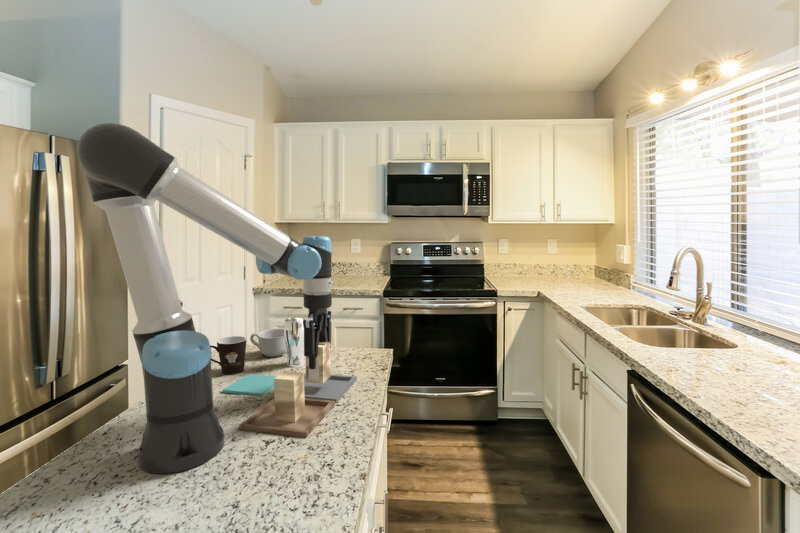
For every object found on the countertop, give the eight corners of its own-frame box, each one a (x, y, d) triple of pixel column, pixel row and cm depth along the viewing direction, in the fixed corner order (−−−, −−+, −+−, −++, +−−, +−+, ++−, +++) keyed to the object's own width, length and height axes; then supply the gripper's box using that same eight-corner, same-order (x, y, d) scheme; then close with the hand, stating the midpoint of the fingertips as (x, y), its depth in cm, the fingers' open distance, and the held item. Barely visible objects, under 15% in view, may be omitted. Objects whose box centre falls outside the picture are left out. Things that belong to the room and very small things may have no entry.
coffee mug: (252, 366, 129) (251, 336, 128) (239, 376, 121) (238, 344, 120) (218, 365, 130) (217, 335, 129) (203, 375, 122) (201, 343, 121)
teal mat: (262, 396, 106) (262, 393, 106) (222, 392, 109) (222, 389, 109) (284, 379, 118) (284, 377, 118) (248, 376, 121) (248, 373, 121)
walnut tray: (306, 438, 85) (306, 432, 85) (240, 430, 89) (239, 424, 89) (334, 405, 101) (334, 401, 101) (277, 399, 104) (277, 395, 104)
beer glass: (281, 367, 129) (279, 321, 127) (291, 360, 135) (290, 316, 134) (300, 368, 127) (299, 322, 126) (310, 361, 134) (309, 317, 132)
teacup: (296, 351, 145) (295, 329, 145) (279, 360, 135) (278, 337, 134) (262, 348, 149) (262, 327, 148) (244, 357, 139) (243, 334, 138)
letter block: (323, 383, 108) (322, 347, 107) (306, 381, 109) (305, 345, 108) (330, 377, 113) (330, 342, 112) (313, 375, 114) (313, 340, 113)
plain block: (295, 422, 92) (293, 380, 91) (275, 420, 93) (273, 378, 92) (304, 412, 97) (303, 372, 96) (286, 410, 98) (284, 371, 97)
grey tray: (336, 403, 102) (336, 399, 102) (279, 398, 105) (279, 393, 105) (356, 380, 117) (356, 376, 117) (306, 376, 121) (306, 372, 121)
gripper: (316, 298, 99) (317, 389, 101) (342, 288, 117) (342, 366, 119) (288, 297, 101) (290, 386, 103) (318, 287, 118) (319, 364, 120)
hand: (318, 375), depth 111 cm, fingers closed on letter block, 5 cm apart
